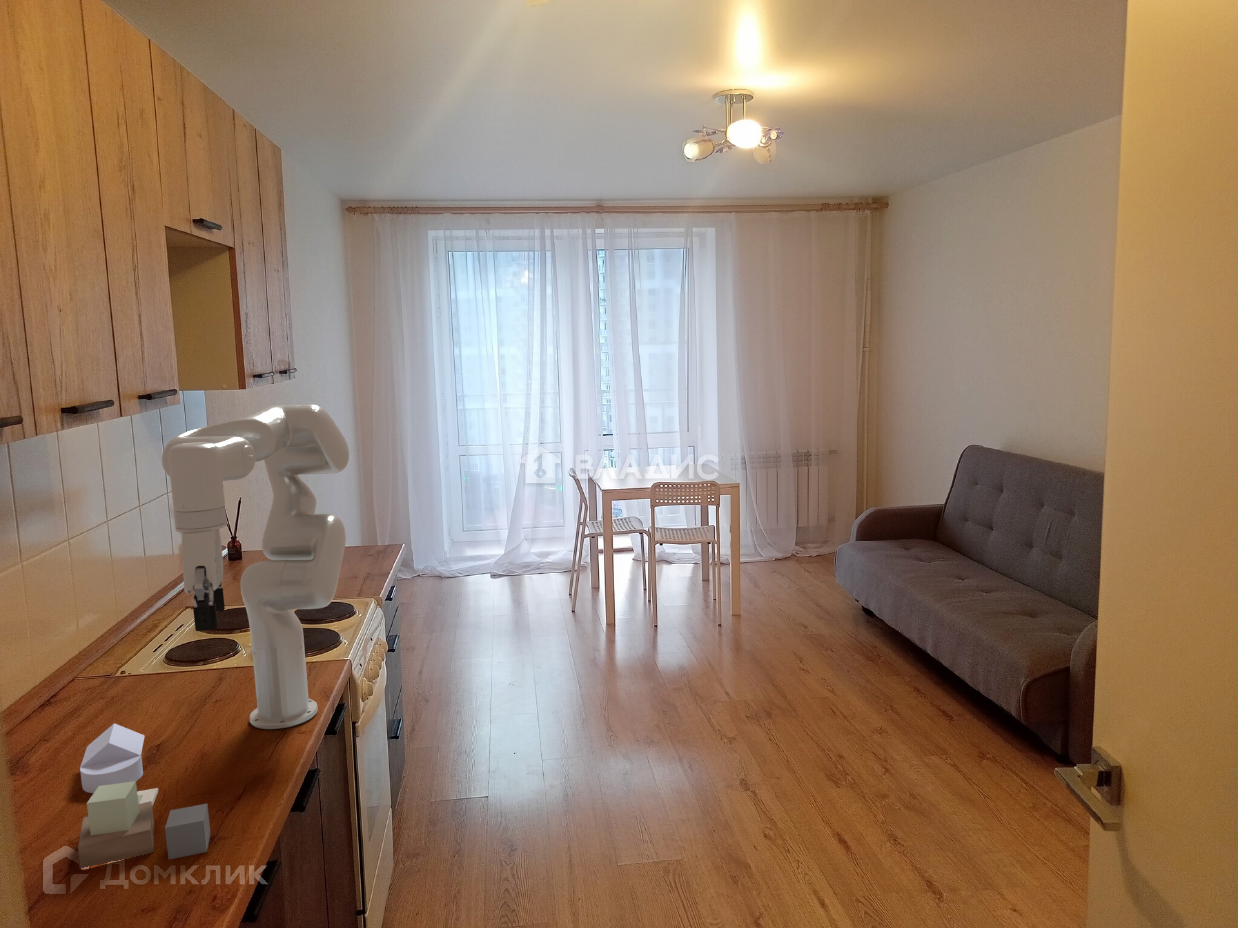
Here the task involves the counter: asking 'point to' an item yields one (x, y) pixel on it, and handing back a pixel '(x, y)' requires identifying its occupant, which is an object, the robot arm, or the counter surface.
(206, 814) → the charcoal cube
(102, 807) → the sage cube
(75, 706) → the counter surface
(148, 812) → the taupe block
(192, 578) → the robot arm
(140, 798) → the tile
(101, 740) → the wedge on round base
